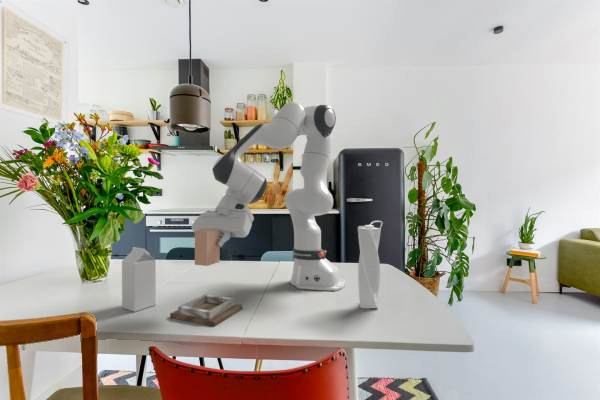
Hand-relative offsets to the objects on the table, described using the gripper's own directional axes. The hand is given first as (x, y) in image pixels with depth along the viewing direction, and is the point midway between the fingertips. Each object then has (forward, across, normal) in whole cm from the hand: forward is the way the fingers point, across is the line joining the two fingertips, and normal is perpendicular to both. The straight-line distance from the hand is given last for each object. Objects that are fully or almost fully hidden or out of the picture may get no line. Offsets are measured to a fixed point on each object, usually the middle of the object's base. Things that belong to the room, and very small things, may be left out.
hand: (210, 244), depth 94 cm
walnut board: (+16, 0, +14) cm, 21 cm away
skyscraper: (-2, +45, +31) cm, 55 cm away
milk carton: (+19, -24, +11) cm, 32 cm away
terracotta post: (+5, 0, +3) cm, 6 cm away
